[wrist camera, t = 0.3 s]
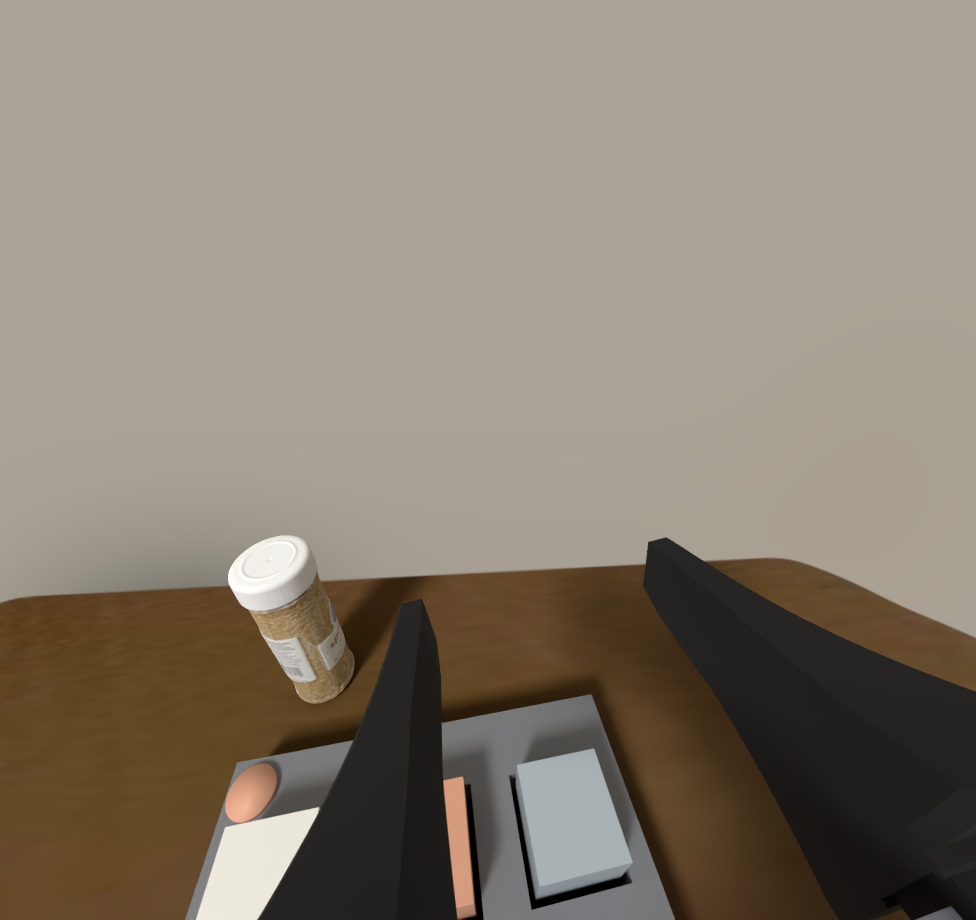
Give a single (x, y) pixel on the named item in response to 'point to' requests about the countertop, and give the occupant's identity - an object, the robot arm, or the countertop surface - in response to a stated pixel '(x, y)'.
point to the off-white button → (252, 865)
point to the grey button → (569, 824)
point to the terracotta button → (460, 847)
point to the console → (488, 781)
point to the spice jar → (294, 615)
